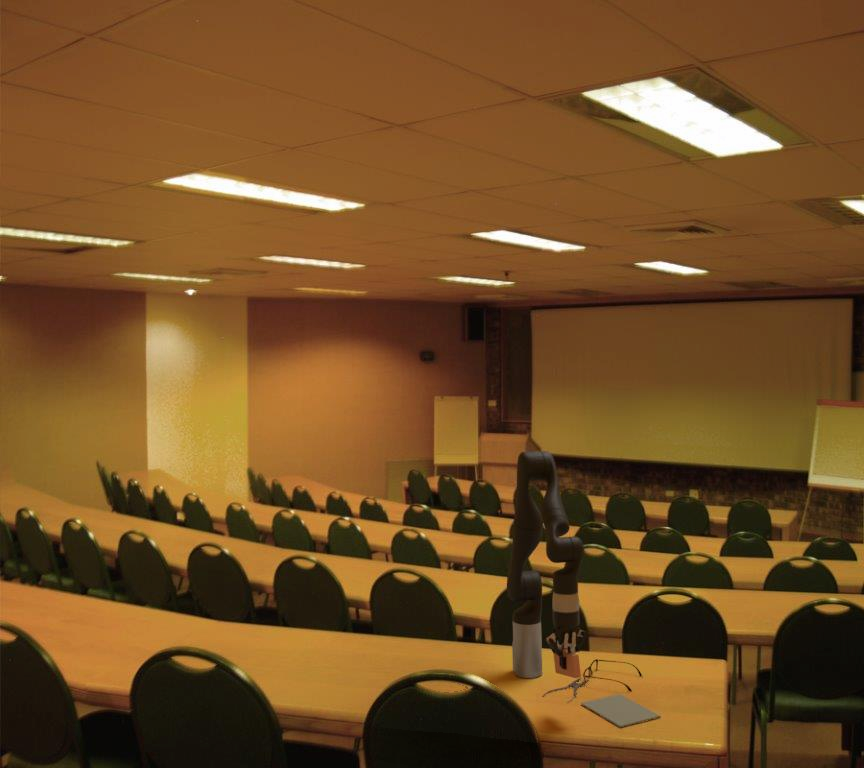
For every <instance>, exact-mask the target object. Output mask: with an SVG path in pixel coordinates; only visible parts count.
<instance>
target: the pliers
mask: <svg viewBox="0 0 864 768" xmlns="http://www.w3.org/2000/svg"><path fill="white" fill-rule="evenodd" d="M580 679H581V680H582V677H579V678H576V679H575V680H573V681H572V682H571V683H570V684H568V685H567V686H564V687H563V686H562V687H559V688H554V689H551V690H548V691H546V692H545V693H543V695H542V696H541V697H542V698H545V697H546V694H547V695H548V694H551V693H554V692H558V690H559V691H563V689H564V690H567V688H569V689H571V688H570V687H572V688H573V687H574V688H573V690H574V692H573V694H574V693H575V696H574V695H573V698H572V699H570V700H568V701H567V702H570V701H572V700H573V699H574V698H576V699H577V697H576V695H577V696H578V690H579V689H580V688H582V687H584V686H586V685H587V684H588V683H589V682H590V679H589V680H588V679H585V680H586V682H585V681H582V682H580V681H581V680H580ZM579 680H580V681H579ZM588 681H589V682H588ZM576 682H579V683H576ZM587 682H588V683H587ZM586 683H587V684H586ZM585 684H586V685H585ZM583 685H584V686H583ZM581 686H582V687H581ZM579 687H580V688H579ZM578 688H579V689H578ZM577 689H578V690H577ZM553 691H554V692H553ZM576 691H577V692H576ZM572 702H573V701H572ZM570 703H571V702H570Z"/></svg>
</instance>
